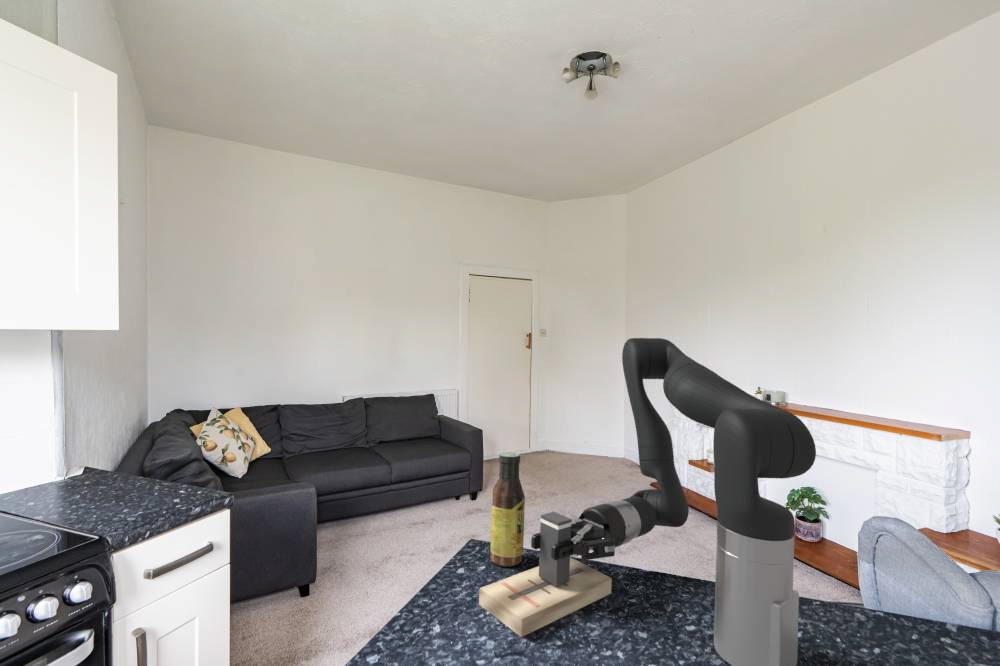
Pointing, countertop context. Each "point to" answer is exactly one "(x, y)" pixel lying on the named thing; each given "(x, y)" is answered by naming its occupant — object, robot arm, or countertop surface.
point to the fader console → (542, 597)
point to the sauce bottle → (507, 513)
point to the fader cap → (551, 533)
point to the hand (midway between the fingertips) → (543, 547)
